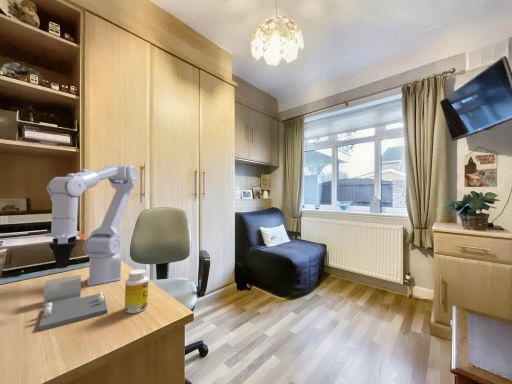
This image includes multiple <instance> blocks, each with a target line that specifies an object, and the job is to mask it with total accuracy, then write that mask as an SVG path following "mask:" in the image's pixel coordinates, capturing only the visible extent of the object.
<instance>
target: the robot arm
mask: <svg viewBox="0 0 512 384" xmlns="http://www.w3.org/2000/svg"><path fill="white" fill-rule="evenodd" d="M138 178H139V175H138V169H137V168H136V167H135V165H131V164H130V165H113V164H110V165H105V166H104V167H102V168H99V169H96V170H90V169H88V168H81V169H80V170H79V171H78V172H76V173H73V172H72V173H71V172H70V173H67V175H65V176H55V177H54V178H52V179H51V180H50V181H48V185H46V190H47V193H48V194H49V196H50V201H51V202H52V203H51V205H52V206H51V226H50V227H51V228H50V231H51V232H49V233H45V234H44V235H45V237H46V238H47V237H48V238H49V237H50V238H52V242H50V243H49V244H48V245H49V246H48V247H49V248H50V250H51V252H52V254H53V256H54V261H55V265H56V269H59V270H60V269H65V268H68V266H69V263H70V259H71V254H72V251H73V249H74V248H75V246H76V244H77V242H76V240H77V235H79V234H78V213H79V212H78V211H79V210H78V209H79V207H78V206H79V197H80V196H81V195H82V194H83V193H84V191H87V190H88V189H89V190H90V189H92V188H94V187H97V185H98V184H99V182H100V181H102V180H106V179H107V180H108V182H109V183H110V185H111V187H112V189H115V192H114V194H113V197H112V200H111V201H110V204H109V206H108V208H107V210H106V213H105V215H104V217H103V220H102V222H101V224H100V226H99V227H98V228H95V230H93V231H91V233H90V234H89V236H88V237H87V238H86V239H85V241H84V243H83V250H84V252H85V253H86V254H87V257H89V264H88V265H89V267H88V268H89V269H88V271H89V272H88V277H87V278H86V279H87V286H88V287H90V286H95V285H100V284H106V283H111V282H116V281H120V280H121V276H122V275H121V273H122V257H121V253H118V251H119V249H120V247H121V239H122V234H121V233H120V232H118V228H119V225H120V223H121V220H122V218H123V215H124V212H125V210H126V208H127V205H128V202H129V199H130V198H131V194H132V192H133V189H134V188H135V185H136V184H137V180H138Z"/></svg>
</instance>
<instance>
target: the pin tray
mask: <svg viewBox="0 0 512 384" xmlns="http://www.w3.org/2000/svg"><path fill="white" fill-rule="evenodd" d="M43 308H44V309H43V311H42V315H41V318H40V322H39V324H38V332H42V331H45V330H49V329H52V328H55V327H60V326H64V325H68V324H72V323H76V322H78V321H82V320H86V319H90V318H94V317H98V316H102V315H105V314H108V306H107V302H106V298H105V293H104V291H98V293H97V294H92V295H87V296H84V297H80V298H77V299H72V300H68V301H63V302H58V303H54V304H52V303H47V304H46V305H45V307H43Z"/></svg>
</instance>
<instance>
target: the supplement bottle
mask: <svg viewBox="0 0 512 384" xmlns="http://www.w3.org/2000/svg"><path fill="white" fill-rule="evenodd" d="M124 288H125V290H124V291H125V293H124V294H125V295H124V310H125V312H126V313H127V314H136V313H140V312H142V311H144V310H145V309H147V308H148V303H149V301H148V300H149V277H148V276H146V270H145V269H142V268H138V269H134V270H130V271H129V274H128V278H127V279H126V281H125V287H124Z"/></svg>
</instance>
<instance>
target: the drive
mask: <svg viewBox="0 0 512 384" xmlns="http://www.w3.org/2000/svg"><path fill="white" fill-rule="evenodd" d="M81 290H82V275H81V274H78V275H71V276H64V277H61V278H60V277H57V278H53V279H47V280H45V281H44V285H43V306H42V307H43V308H45V305H46V304H47V303H52V304H54V303H58V302H63V301H68V300H72V299H77V298H82V297H81V294H82V293H81V292H82V291H81Z"/></svg>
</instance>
